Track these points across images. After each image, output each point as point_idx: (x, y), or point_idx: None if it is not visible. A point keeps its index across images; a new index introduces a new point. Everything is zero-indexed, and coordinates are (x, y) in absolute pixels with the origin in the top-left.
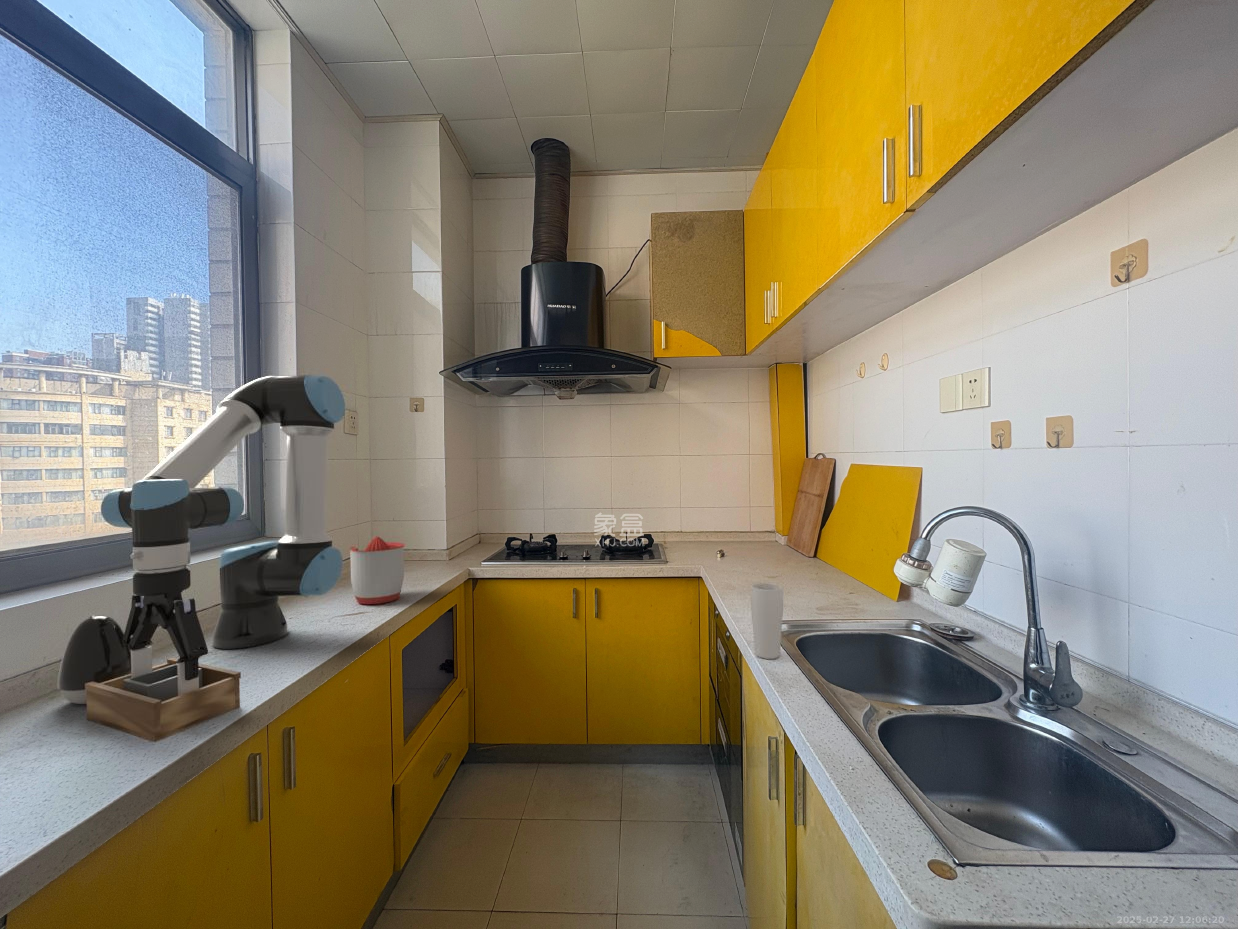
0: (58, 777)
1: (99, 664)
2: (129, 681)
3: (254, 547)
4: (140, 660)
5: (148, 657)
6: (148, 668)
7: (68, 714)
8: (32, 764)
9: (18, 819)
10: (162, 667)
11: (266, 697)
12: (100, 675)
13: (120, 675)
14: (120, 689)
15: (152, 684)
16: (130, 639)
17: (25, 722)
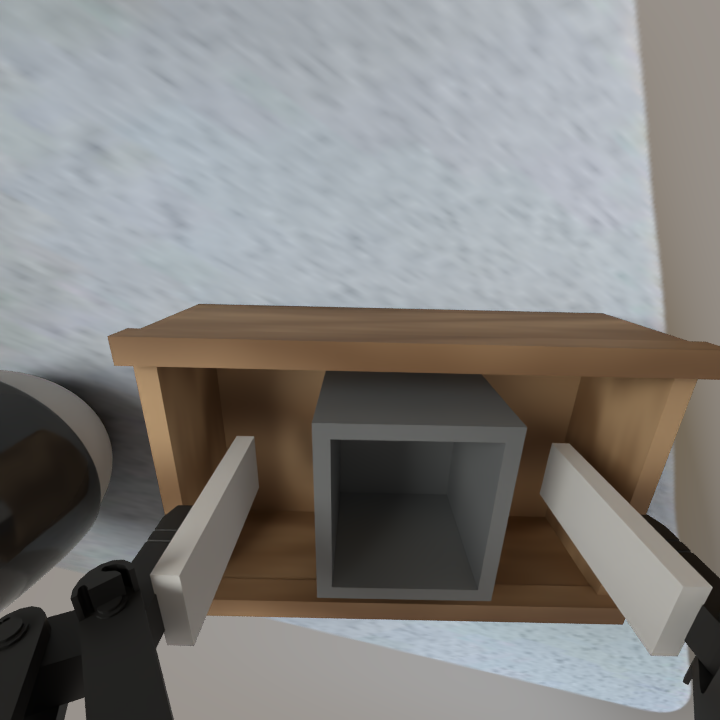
0: (495, 630)
1: (17, 577)
2: (357, 596)
3: None
4: (215, 559)
5: (208, 534)
6: (234, 492)
7: (133, 509)
8: (384, 625)
9: (577, 687)
10: (165, 387)
11: (639, 218)
12: (67, 535)
13: (75, 467)
14: (368, 604)
15: (490, 587)
16: (57, 706)
17: (99, 559)
